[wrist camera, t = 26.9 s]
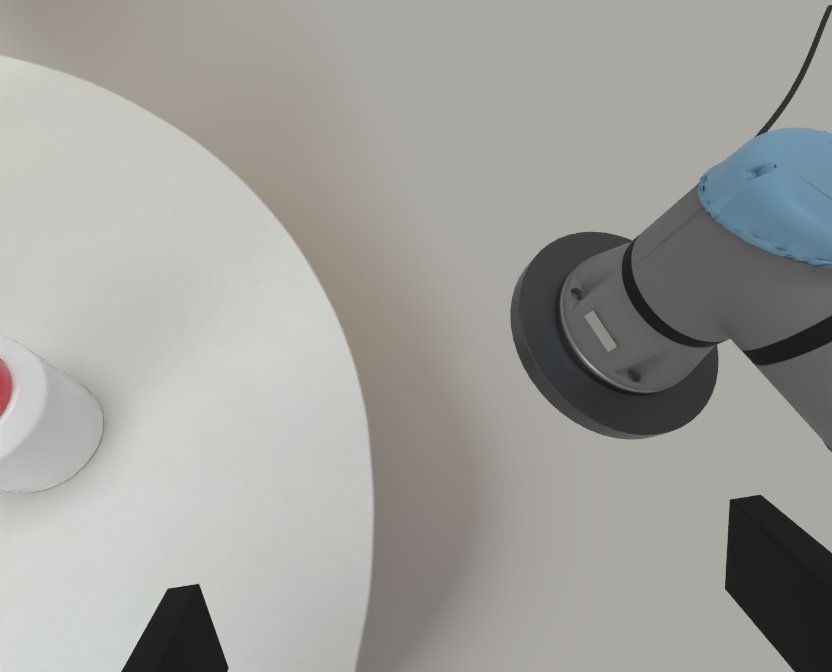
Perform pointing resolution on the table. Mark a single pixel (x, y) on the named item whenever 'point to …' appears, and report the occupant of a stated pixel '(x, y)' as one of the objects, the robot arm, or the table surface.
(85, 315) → the table surface
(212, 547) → the table surface
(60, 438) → the pill bottle
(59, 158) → the table surface
